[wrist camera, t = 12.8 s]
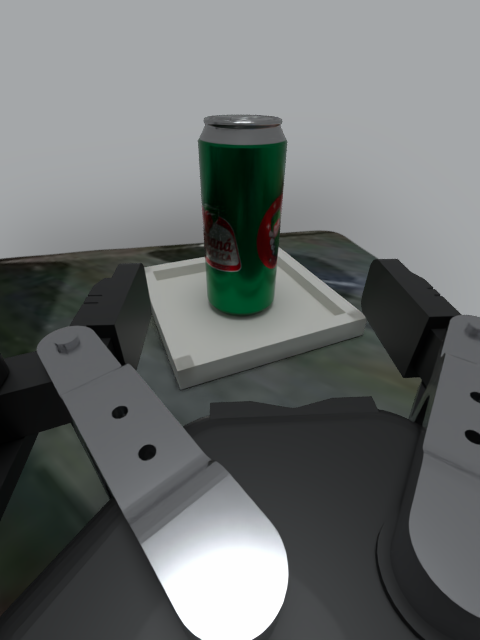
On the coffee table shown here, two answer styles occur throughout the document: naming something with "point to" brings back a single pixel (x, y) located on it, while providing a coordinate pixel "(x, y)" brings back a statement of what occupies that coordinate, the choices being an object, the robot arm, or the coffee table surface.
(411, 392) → the coffee table surface
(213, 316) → the tray
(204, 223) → the soda can
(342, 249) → the coffee table surface
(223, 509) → the robot arm
